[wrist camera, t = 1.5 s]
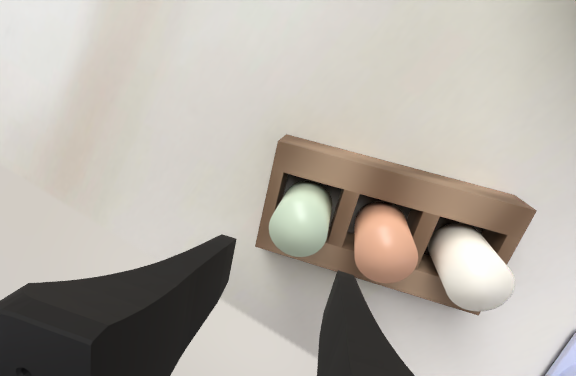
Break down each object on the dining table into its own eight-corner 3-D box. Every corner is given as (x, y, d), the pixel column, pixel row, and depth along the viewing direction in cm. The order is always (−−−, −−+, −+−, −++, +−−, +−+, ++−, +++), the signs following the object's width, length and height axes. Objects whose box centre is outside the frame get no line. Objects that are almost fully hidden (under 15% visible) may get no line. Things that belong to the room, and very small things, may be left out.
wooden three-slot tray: (514, 195, 19) (536, 210, 17) (465, 290, 21) (478, 315, 19) (286, 134, 20) (278, 141, 18) (264, 230, 23) (255, 246, 20)
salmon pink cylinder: (413, 209, 19) (427, 239, 15) (396, 253, 20) (405, 291, 16) (362, 195, 19) (365, 221, 15) (348, 238, 20) (347, 272, 16)
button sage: (338, 188, 19) (334, 213, 16) (324, 231, 20) (318, 264, 17) (289, 174, 19) (275, 195, 16) (279, 218, 20) (263, 247, 17)
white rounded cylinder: (493, 231, 18) (527, 268, 15) (471, 275, 19) (497, 319, 16) (439, 216, 18) (460, 249, 15) (420, 260, 19) (435, 300, 16)
